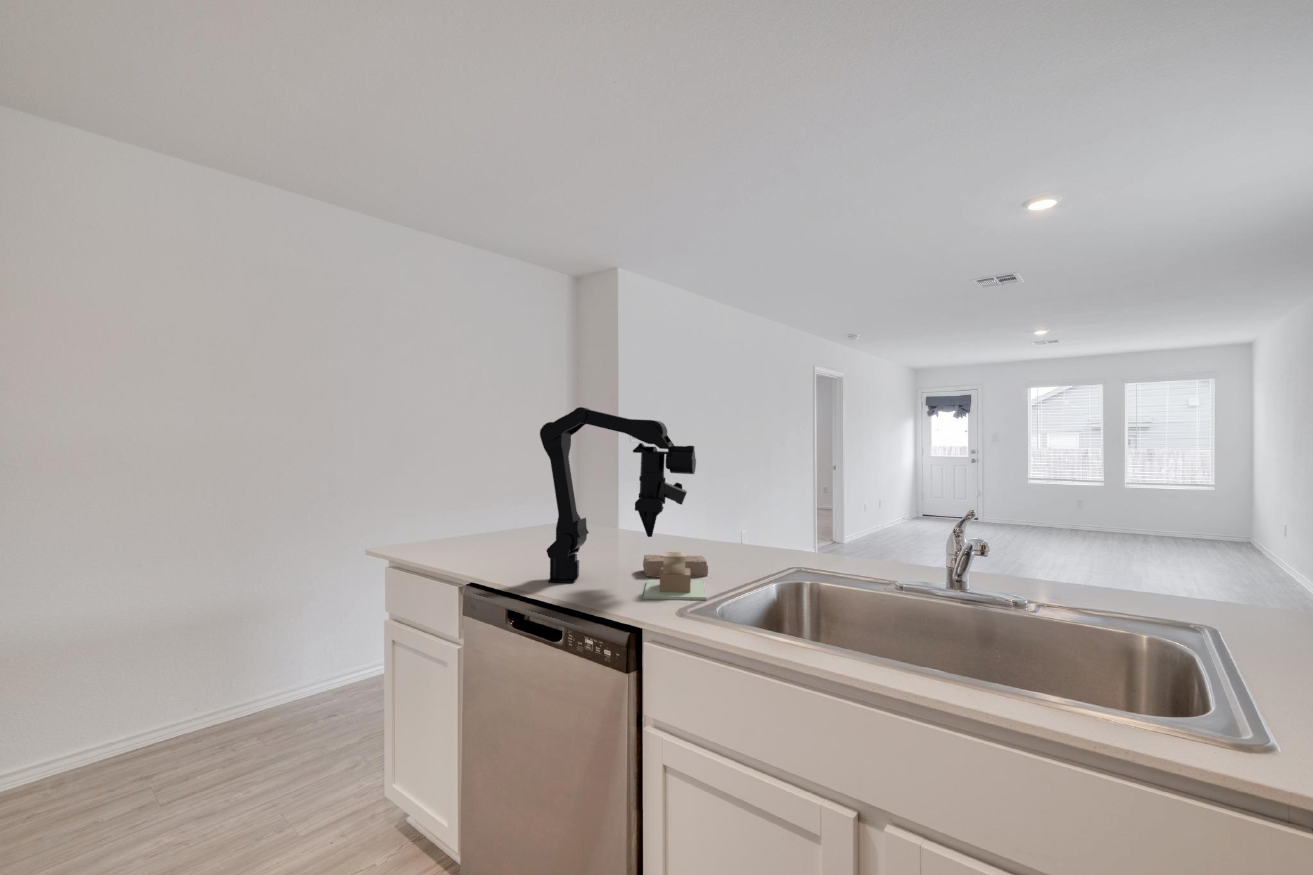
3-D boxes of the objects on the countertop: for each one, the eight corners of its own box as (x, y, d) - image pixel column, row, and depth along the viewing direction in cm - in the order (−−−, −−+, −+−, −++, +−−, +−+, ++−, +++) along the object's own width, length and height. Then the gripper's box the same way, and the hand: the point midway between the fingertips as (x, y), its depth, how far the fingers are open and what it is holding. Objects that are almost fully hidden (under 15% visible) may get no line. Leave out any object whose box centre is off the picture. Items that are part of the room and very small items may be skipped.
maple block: (663, 573, 133) (663, 556, 133) (663, 568, 138) (663, 551, 138) (685, 574, 133) (685, 556, 133) (684, 569, 138) (684, 552, 138)
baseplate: (643, 598, 129) (643, 577, 129) (647, 582, 143) (647, 564, 143) (706, 600, 128) (706, 579, 128) (703, 583, 142) (704, 565, 142)
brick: (702, 570, 158) (703, 552, 158) (709, 577, 150) (709, 559, 150) (642, 571, 157) (642, 554, 157) (645, 578, 148) (645, 560, 148)
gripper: (685, 476, 130) (682, 545, 130) (685, 471, 149) (683, 531, 149) (635, 474, 131) (633, 543, 131) (642, 469, 149) (640, 529, 149)
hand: (649, 536), depth 140 cm, fingers closed
